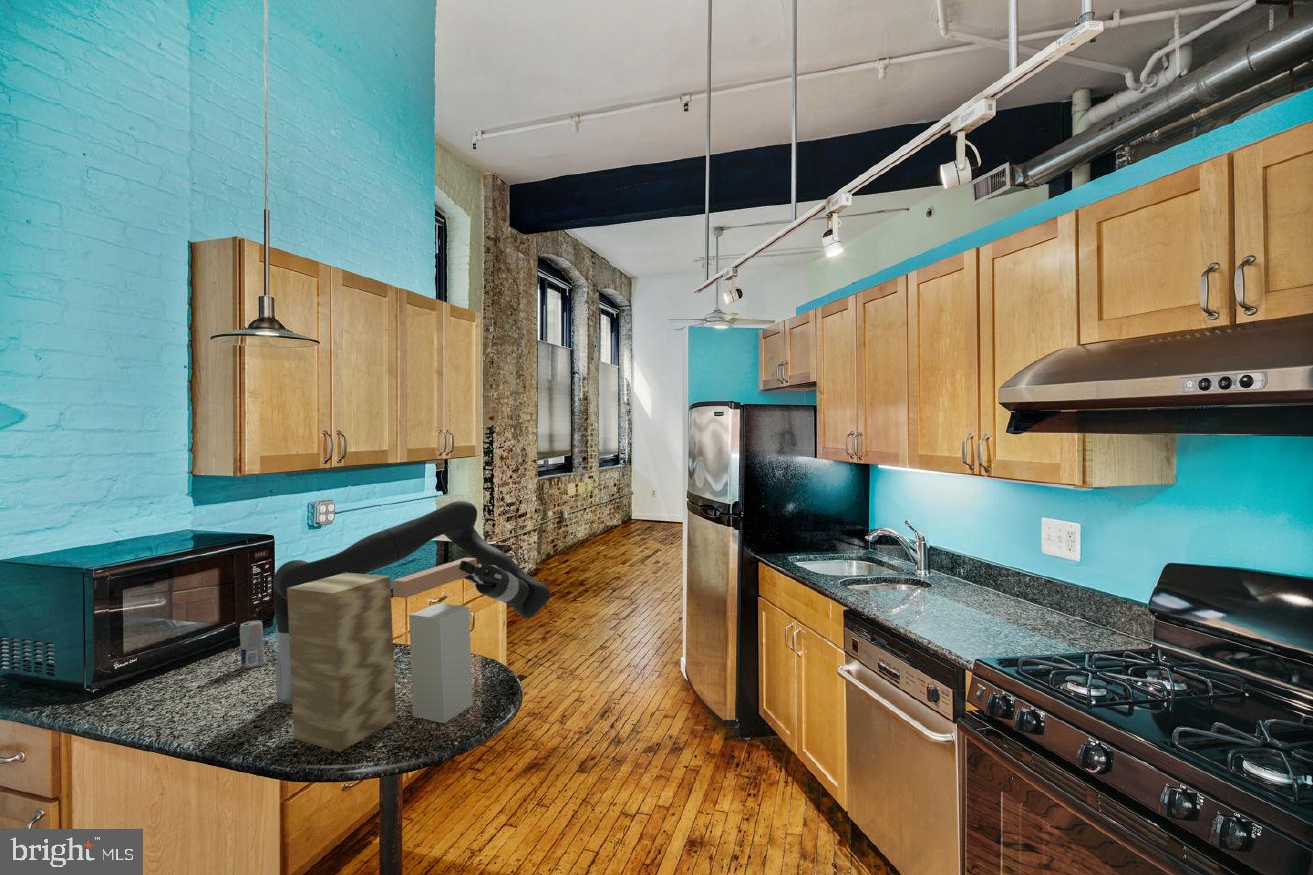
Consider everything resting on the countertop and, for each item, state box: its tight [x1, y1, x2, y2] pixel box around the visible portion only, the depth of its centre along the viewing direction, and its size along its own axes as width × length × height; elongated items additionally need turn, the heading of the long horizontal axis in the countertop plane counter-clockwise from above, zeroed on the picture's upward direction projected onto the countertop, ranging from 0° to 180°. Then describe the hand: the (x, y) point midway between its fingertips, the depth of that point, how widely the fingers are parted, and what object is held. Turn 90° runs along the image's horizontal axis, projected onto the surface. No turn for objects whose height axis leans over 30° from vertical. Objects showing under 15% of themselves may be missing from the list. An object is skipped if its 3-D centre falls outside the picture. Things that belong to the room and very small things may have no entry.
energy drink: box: [239, 619, 265, 669], centre depth 168 cm, size 5×5×12 cm
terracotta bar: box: [392, 557, 478, 599], centre depth 135 cm, size 22×4×4 cm, turn 156°
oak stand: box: [287, 573, 397, 753], centre depth 128 cm, size 14×14×32 cm
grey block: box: [408, 603, 474, 724], centre depth 135 cm, size 9×9×23 cm
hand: (455, 564), depth 140 cm, fingers closed on terracotta bar, 3 cm apart
